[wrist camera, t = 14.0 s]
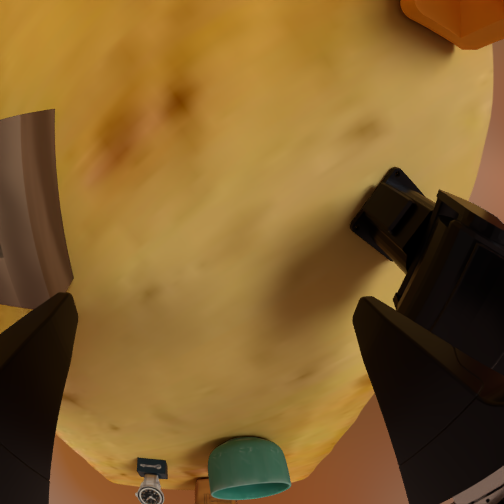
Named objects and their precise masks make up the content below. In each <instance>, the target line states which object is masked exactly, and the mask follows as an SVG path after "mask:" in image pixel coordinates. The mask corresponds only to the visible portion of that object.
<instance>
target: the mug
mask: <svg viewBox="0 0 504 504" xmlns="http://www.w3.org/2000/svg"><path fill="white" fill-rule="evenodd" d="M208 476H209V485H210V492H211V496H213V497H215V498H218V499H225V500H242V499H243V500H244V499H255V498H261V497H266V496H271V495H274V494H278V493H281V492H283V491H285V490H287V489H289V488H290V487H291V481H290V476H289V471H288V467H287V463H286V459H285V456H284V454H283V452H282V450H281V448H280V447H279V446H278V445H277V444H275V443H273V442H271V441H269V440H265V439H261V438H257V437H240V438H235V439H231V440H228V441H227V442H225V443H224V444H222V445H220V446H218V447H217V448H215V449H214V450H213V451H212V453H211V454H210V456H209V460H208Z"/></svg>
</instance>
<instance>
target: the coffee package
mask: <svg viewBox="0 0 504 504" xmlns="http://www.w3.org/2000/svg"><path fill="white" fill-rule="evenodd" d="M195 504H237V500H225V499H218V498H215V497H213V496H211V492H210V485H209V479H201V480H197V481H196V487H195Z"/></svg>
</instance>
